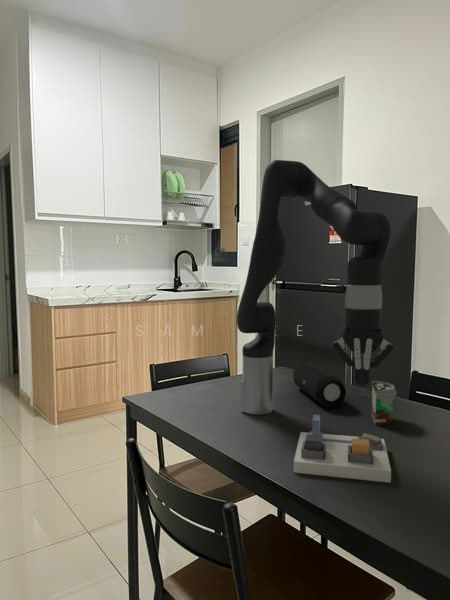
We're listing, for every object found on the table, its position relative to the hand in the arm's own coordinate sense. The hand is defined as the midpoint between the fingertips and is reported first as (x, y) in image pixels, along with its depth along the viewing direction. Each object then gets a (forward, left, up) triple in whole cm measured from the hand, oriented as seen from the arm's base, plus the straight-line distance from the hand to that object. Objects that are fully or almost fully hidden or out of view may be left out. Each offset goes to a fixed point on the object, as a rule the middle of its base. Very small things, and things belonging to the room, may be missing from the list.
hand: (361, 385), depth 102 cm
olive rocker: (+2, +8, -15) cm, 18 cm away
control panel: (-4, +4, -19) cm, 20 cm away
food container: (+8, +35, -19) cm, 41 cm away
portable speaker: (-12, +53, -19) cm, 58 cm away
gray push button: (-10, 0, -15) cm, 18 cm away
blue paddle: (-10, +9, -16) cm, 21 cm away
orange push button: (0, 0, -15) cm, 15 cm away
